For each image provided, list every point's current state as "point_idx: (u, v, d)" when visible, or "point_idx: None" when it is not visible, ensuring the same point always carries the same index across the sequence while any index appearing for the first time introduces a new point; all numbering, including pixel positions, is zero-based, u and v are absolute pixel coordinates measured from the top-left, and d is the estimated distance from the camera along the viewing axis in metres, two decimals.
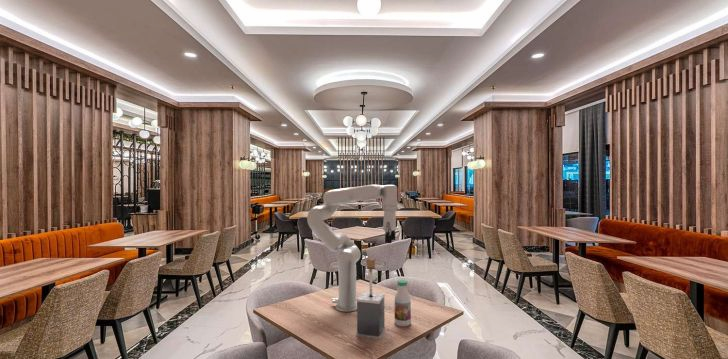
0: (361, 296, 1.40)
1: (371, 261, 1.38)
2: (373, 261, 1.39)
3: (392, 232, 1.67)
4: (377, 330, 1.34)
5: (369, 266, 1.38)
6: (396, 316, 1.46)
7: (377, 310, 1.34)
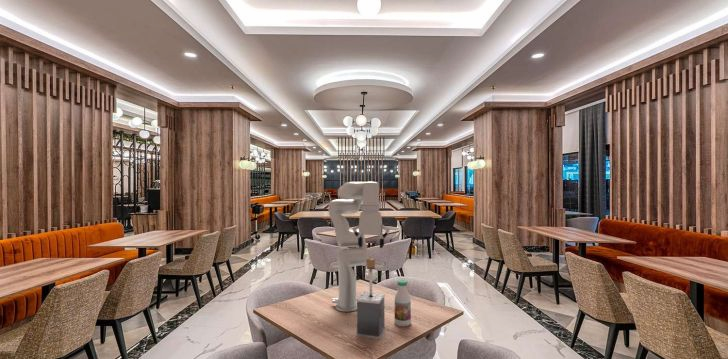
0: (361, 296, 1.40)
1: (371, 261, 1.38)
2: (373, 261, 1.39)
3: (361, 237, 1.42)
4: (377, 330, 1.34)
5: (369, 266, 1.38)
6: (396, 316, 1.46)
7: (377, 310, 1.34)
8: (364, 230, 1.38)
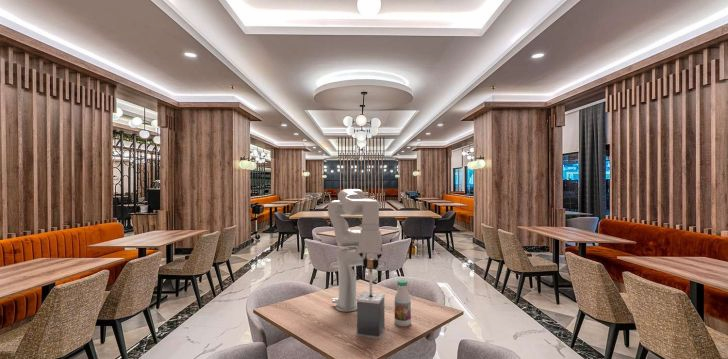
0: (361, 296, 1.40)
1: (371, 261, 1.38)
2: (373, 261, 1.39)
3: (366, 257, 1.41)
4: (377, 330, 1.34)
5: (369, 266, 1.38)
6: (396, 316, 1.46)
7: (377, 310, 1.34)
8: (364, 248, 1.38)
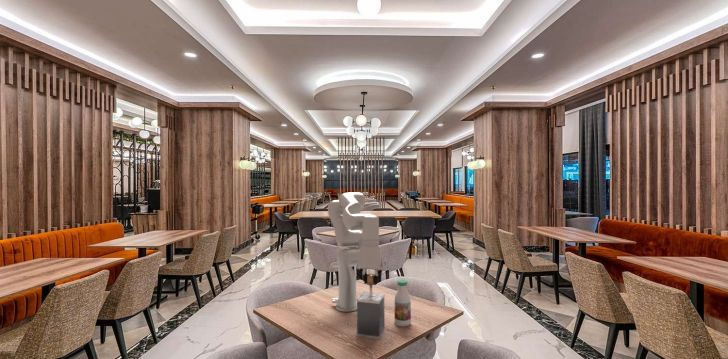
0: (361, 296, 1.40)
1: (371, 277, 1.38)
2: (373, 277, 1.39)
3: (366, 273, 1.41)
4: (377, 330, 1.34)
5: (369, 282, 1.38)
6: (396, 316, 1.46)
7: (377, 310, 1.34)
8: (364, 264, 1.38)
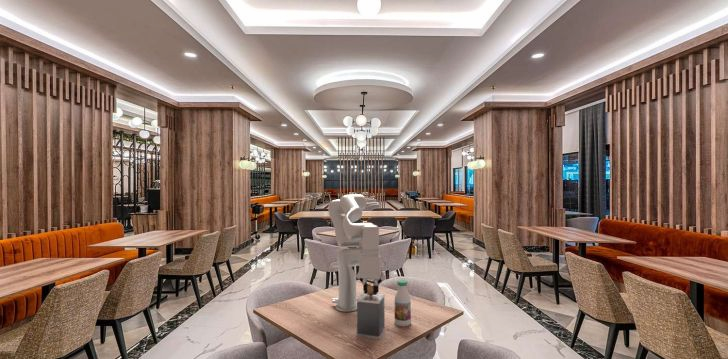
0: (361, 296, 1.40)
1: (371, 287, 1.38)
2: (373, 287, 1.39)
3: None
4: (377, 330, 1.34)
5: (369, 292, 1.38)
6: (396, 316, 1.46)
7: (377, 310, 1.34)
8: (364, 274, 1.38)
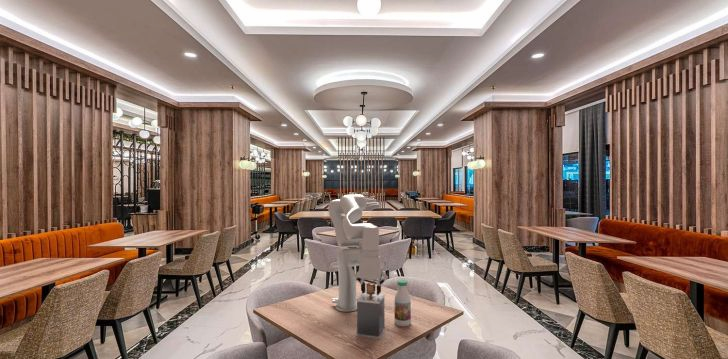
0: (361, 296, 1.40)
1: (371, 286, 1.38)
2: (373, 286, 1.39)
3: (364, 282, 1.41)
4: (377, 330, 1.34)
5: (369, 291, 1.38)
6: (396, 316, 1.46)
7: (377, 310, 1.34)
8: (364, 275, 1.38)
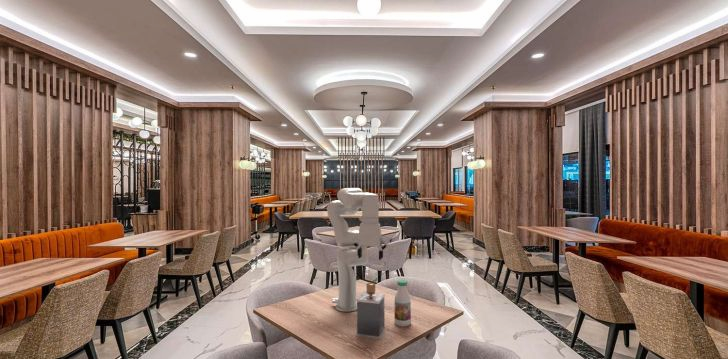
0: (361, 296, 1.40)
1: (371, 286, 1.38)
2: (373, 286, 1.39)
3: (360, 248, 1.43)
4: (377, 330, 1.34)
5: (369, 291, 1.38)
6: (396, 316, 1.46)
7: (377, 310, 1.34)
8: (363, 242, 1.40)
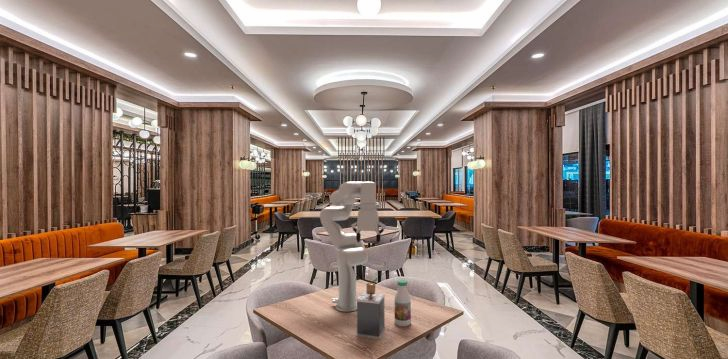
0: (361, 296, 1.40)
1: (371, 286, 1.38)
2: (373, 286, 1.39)
3: (359, 233, 1.53)
4: (377, 330, 1.34)
5: (369, 291, 1.38)
6: (396, 316, 1.46)
7: (377, 310, 1.34)
8: (362, 226, 1.49)
